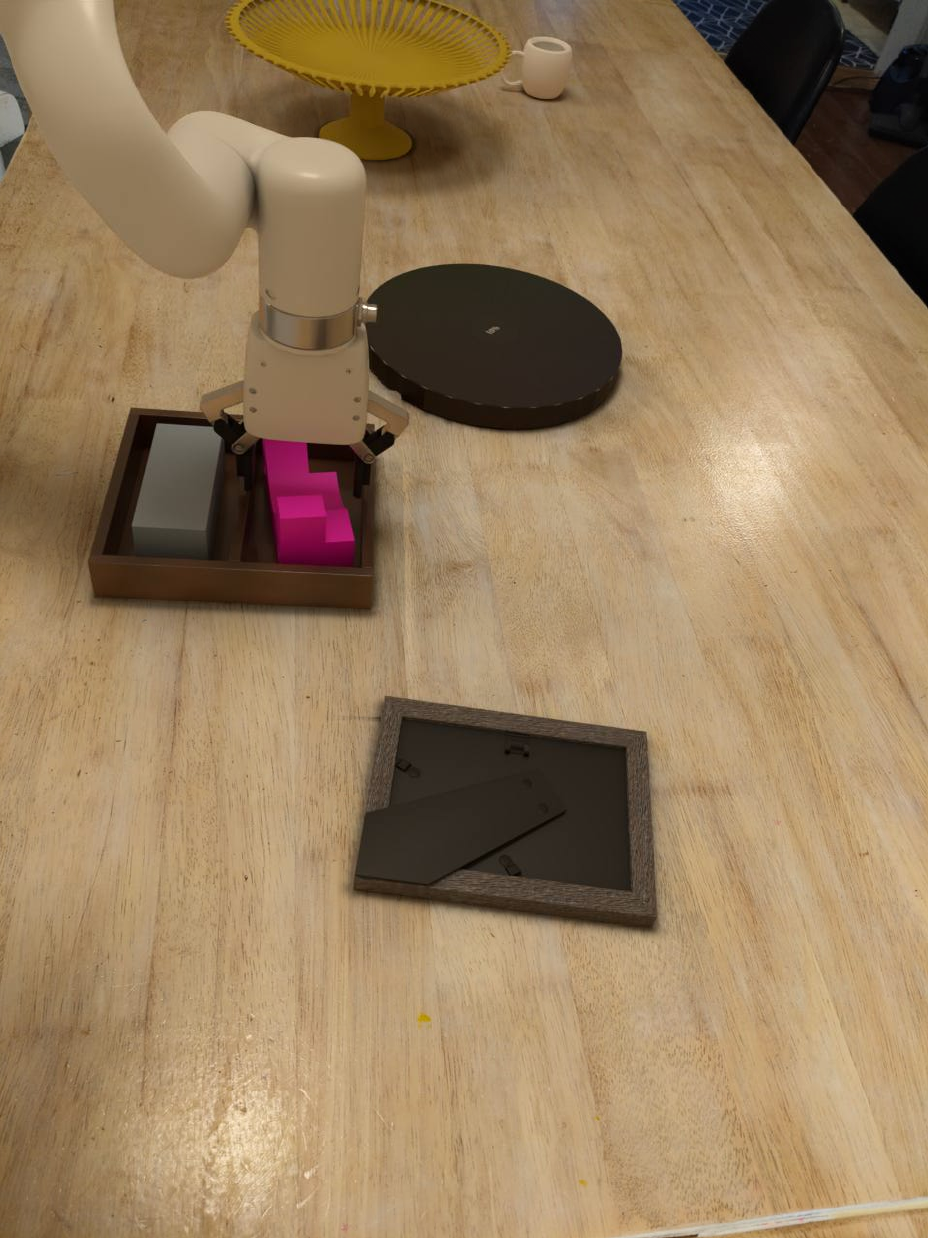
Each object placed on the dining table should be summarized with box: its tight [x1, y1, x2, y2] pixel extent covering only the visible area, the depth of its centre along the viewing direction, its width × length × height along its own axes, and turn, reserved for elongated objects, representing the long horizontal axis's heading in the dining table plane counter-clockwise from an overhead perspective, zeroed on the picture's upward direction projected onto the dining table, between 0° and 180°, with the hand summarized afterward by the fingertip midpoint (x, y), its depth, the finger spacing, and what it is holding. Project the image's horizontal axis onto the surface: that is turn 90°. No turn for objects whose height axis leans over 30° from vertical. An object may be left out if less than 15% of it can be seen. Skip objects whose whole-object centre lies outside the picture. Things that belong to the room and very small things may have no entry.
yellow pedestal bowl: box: [223, 0, 513, 161], centre depth 149 cm, size 40×40×15 cm
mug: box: [499, 36, 573, 100], centre depth 173 cm, size 12×8×8 cm
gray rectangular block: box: [132, 423, 226, 560], centre depth 91 cm, size 6×14×5 cm, turn 3°
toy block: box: [262, 438, 355, 567], centre depth 92 cm, size 15×6×8 cm, turn 13°
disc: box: [364, 262, 624, 430], centre depth 118 cm, size 30×30×3 cm
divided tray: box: [87, 407, 376, 611], centre depth 93 cm, size 23×21×5 cm
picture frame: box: [353, 695, 658, 928], centre depth 76 cm, size 16×2×21 cm
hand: (303, 484), depth 91 cm, fingers open, 9 cm apart
